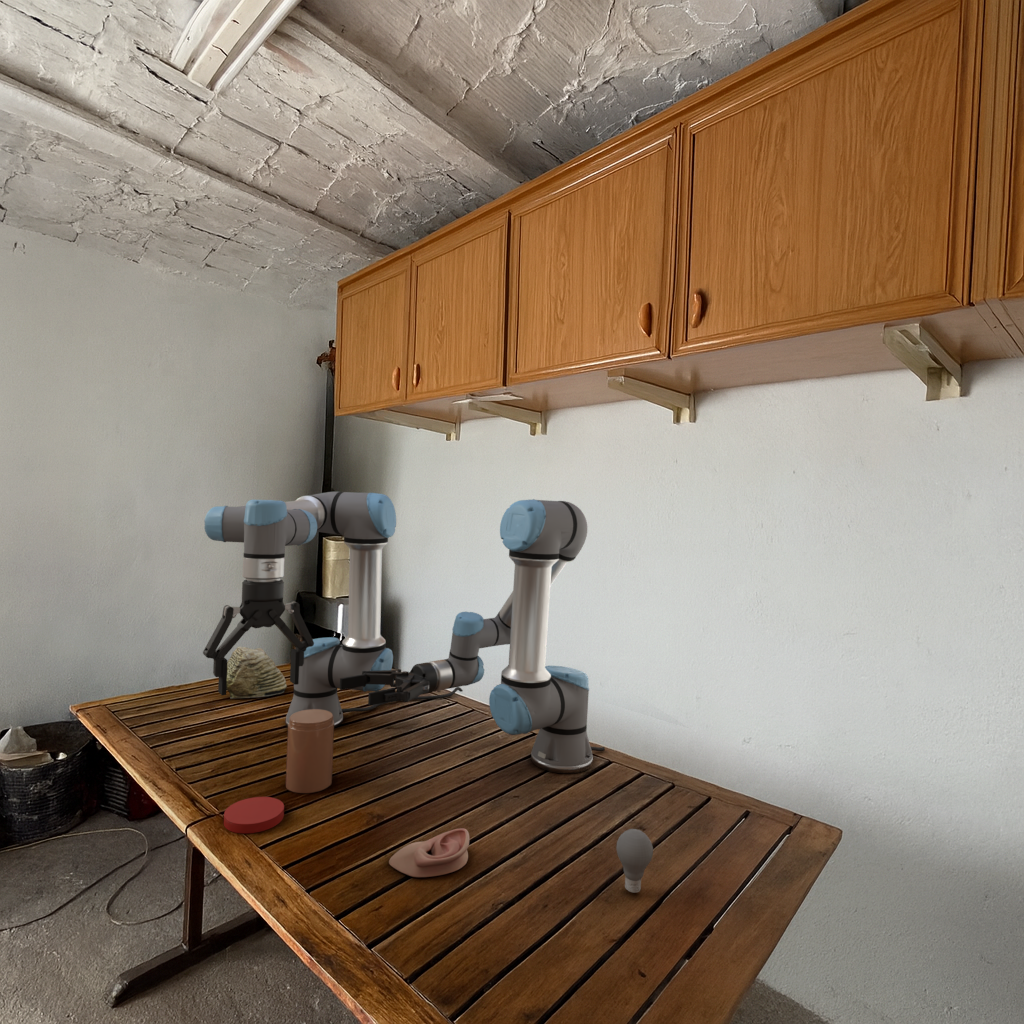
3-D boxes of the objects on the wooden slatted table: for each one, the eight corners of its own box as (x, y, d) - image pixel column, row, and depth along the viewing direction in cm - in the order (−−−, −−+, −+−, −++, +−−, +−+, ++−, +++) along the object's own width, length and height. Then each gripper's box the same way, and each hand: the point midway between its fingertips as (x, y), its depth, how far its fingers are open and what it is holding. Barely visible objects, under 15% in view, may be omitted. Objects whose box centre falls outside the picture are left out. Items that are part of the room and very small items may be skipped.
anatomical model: (382, 848, 108) (407, 816, 119) (381, 871, 108) (406, 837, 119) (457, 861, 105) (475, 826, 116) (456, 884, 105) (474, 848, 116)
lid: (240, 803, 129) (240, 795, 129) (292, 807, 129) (292, 798, 129) (212, 831, 118) (212, 821, 118) (269, 835, 118) (269, 826, 118)
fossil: (218, 695, 195) (220, 647, 195) (278, 685, 208) (279, 640, 207) (228, 703, 189) (230, 653, 188) (289, 692, 201) (290, 645, 201)
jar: (316, 769, 147) (319, 705, 146) (340, 783, 140) (343, 716, 140) (277, 782, 139) (279, 715, 139) (300, 797, 133) (303, 727, 133)
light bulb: (610, 879, 108) (613, 822, 108) (644, 879, 109) (647, 822, 109) (619, 902, 102) (622, 840, 102) (655, 901, 103) (658, 840, 103)
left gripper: (197, 584, 112) (193, 703, 113) (332, 578, 128) (328, 683, 128) (188, 579, 118) (184, 692, 118) (318, 574, 134) (314, 674, 134)
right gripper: (459, 705, 152) (381, 723, 137) (402, 680, 170) (329, 693, 156) (460, 673, 151) (383, 688, 137) (404, 652, 170) (330, 663, 156)
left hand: (259, 688), depth 123 cm, fingers open, 13 cm apart
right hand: (354, 691), depth 146 cm, fingers open, 13 cm apart
